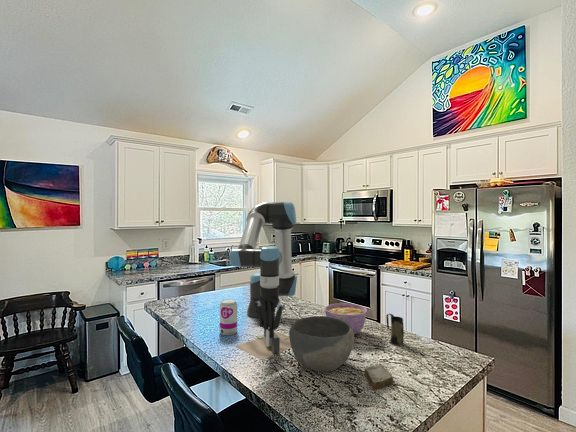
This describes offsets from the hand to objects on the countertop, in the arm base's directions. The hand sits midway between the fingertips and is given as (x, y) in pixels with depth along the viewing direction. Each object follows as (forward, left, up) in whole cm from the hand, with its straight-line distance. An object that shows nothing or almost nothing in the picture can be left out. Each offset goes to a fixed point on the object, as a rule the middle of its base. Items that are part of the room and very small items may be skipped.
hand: (268, 345), depth 131 cm
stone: (-15, +40, -5) cm, 43 cm away
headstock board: (-6, -7, -4) cm, 10 cm away
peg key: (-6, -7, -3) cm, 10 cm away
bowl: (-9, +19, -5) cm, 22 cm away
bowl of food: (-43, +5, -5) cm, 44 cm away
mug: (-49, +27, -5) cm, 57 cm away
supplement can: (-3, -34, -5) cm, 34 cm away
